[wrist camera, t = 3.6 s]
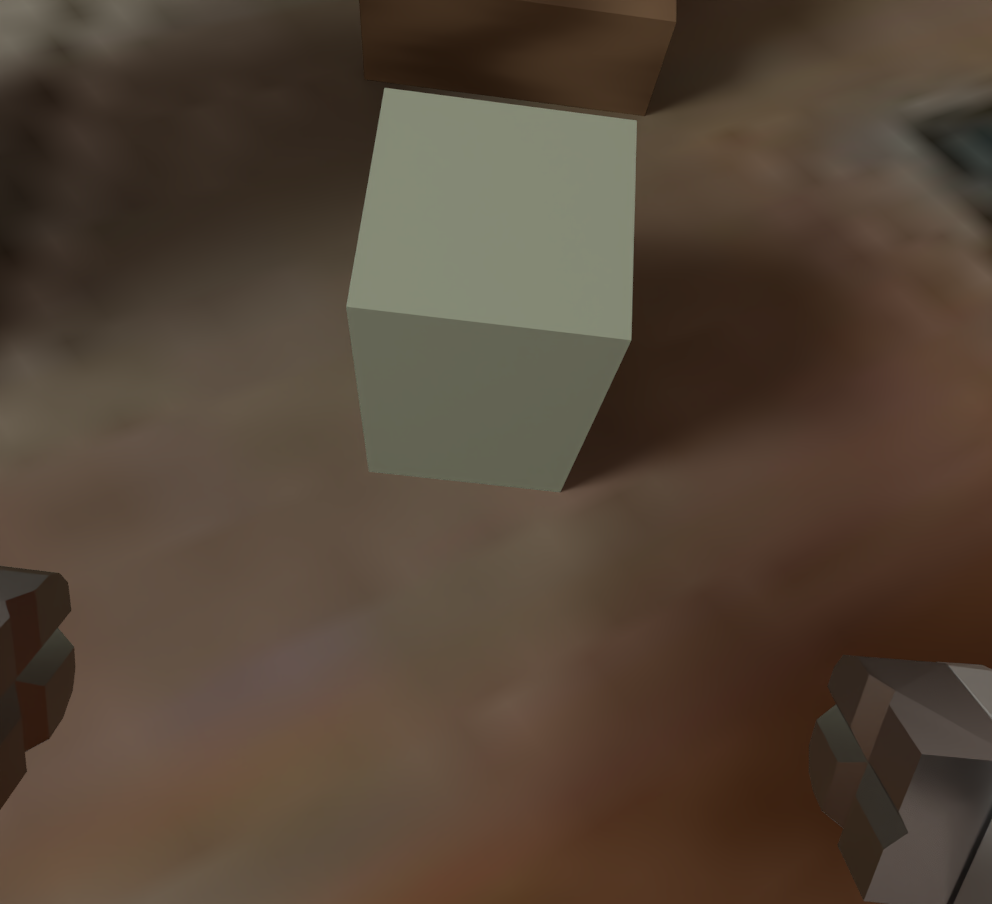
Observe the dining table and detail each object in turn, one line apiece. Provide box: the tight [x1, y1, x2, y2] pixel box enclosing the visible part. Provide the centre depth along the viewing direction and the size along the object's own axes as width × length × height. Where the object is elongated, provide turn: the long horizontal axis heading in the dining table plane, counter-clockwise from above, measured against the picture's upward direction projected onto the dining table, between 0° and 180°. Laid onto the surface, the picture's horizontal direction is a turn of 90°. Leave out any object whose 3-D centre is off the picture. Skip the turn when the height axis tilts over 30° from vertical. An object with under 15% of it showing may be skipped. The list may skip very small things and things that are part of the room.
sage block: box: [346, 88, 637, 492], centre depth 20 cm, size 5×5×8 cm
